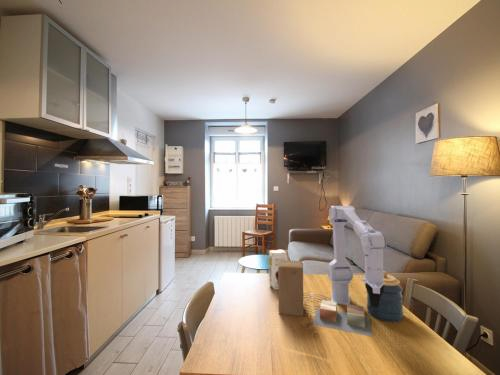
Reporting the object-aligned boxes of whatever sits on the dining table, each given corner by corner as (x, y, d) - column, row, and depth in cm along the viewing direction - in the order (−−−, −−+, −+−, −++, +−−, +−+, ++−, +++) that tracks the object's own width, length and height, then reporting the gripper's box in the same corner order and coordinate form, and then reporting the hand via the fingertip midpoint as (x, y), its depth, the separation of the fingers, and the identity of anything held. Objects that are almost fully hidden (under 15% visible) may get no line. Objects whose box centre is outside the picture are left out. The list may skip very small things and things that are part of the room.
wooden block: (303, 317, 95) (303, 267, 95) (278, 315, 97) (278, 266, 97) (303, 306, 105) (302, 260, 105) (280, 304, 107) (279, 259, 107)
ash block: (319, 318, 94) (321, 309, 101) (335, 321, 91) (336, 312, 99) (319, 308, 94) (321, 299, 101) (335, 311, 91) (336, 302, 99)
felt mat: (317, 308, 103) (317, 307, 103) (369, 317, 95) (369, 316, 95) (312, 325, 90) (312, 324, 90) (372, 337, 82) (372, 336, 82)
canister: (397, 308, 102) (396, 267, 102) (408, 325, 89) (407, 278, 90) (364, 305, 105) (363, 265, 106) (370, 320, 93) (369, 275, 93)
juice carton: (267, 285, 128) (267, 249, 129) (282, 283, 131) (282, 248, 131) (273, 290, 121) (273, 253, 121) (288, 288, 124) (288, 252, 124)
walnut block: (347, 324, 90) (347, 313, 97) (364, 327, 87) (363, 316, 95) (347, 313, 90) (347, 304, 97) (364, 316, 88) (363, 306, 95)
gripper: (360, 260, 91) (361, 295, 91) (362, 272, 78) (363, 314, 78) (381, 262, 89) (381, 299, 88) (387, 274, 75) (387, 318, 75)
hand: (374, 306), depth 83 cm, fingers closed
